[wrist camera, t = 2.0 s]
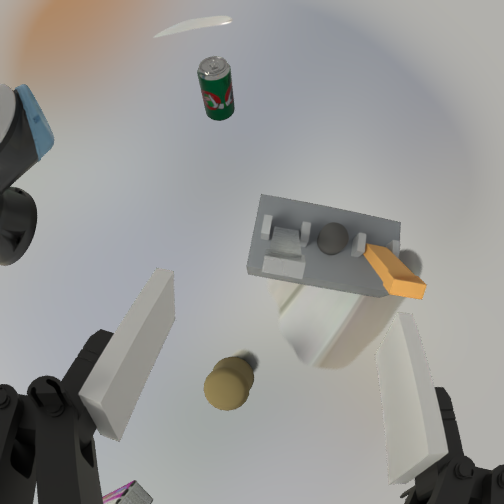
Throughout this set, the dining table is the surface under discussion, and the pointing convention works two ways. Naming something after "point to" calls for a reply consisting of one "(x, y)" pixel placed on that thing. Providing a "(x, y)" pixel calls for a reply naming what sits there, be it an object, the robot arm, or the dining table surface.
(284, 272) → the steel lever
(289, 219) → the console
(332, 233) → the button
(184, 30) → the dining table surface
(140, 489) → the candy bar box
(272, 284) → the dining table surface
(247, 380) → the cork
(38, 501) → the robot arm
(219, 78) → the soda can
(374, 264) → the orange lever
